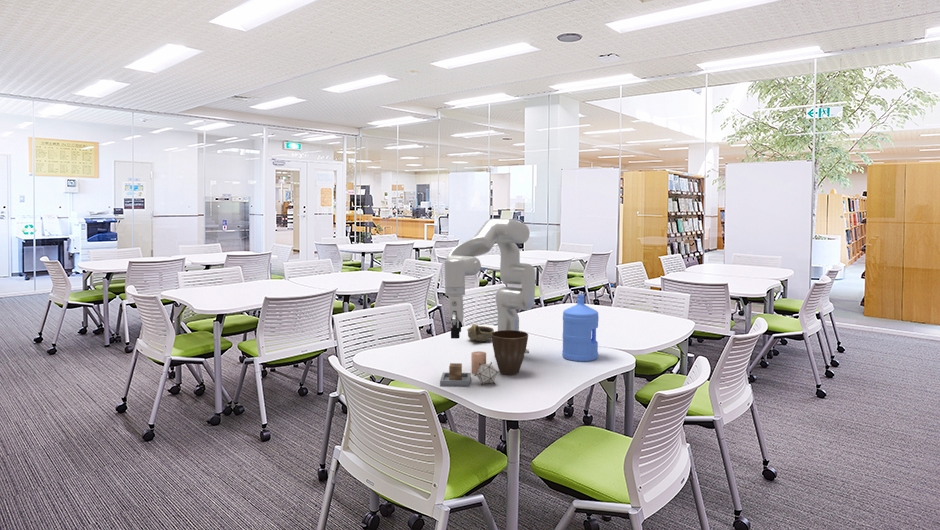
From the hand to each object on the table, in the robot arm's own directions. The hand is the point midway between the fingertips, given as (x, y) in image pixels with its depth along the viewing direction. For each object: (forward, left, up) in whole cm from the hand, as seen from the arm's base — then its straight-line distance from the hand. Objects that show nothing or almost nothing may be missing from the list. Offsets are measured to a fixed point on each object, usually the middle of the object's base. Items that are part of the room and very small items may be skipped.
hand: (456, 335), depth 215 cm
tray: (0, 0, -18) cm, 18 cm away
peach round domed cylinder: (-8, -13, -18) cm, 24 cm away
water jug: (-53, -38, -18) cm, 67 cm away
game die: (-12, +2, -18) cm, 22 cm away
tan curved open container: (-7, -68, -18) cm, 70 cm away
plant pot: (-21, -13, -18) cm, 30 cm away
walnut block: (0, 0, -18) cm, 18 cm away
